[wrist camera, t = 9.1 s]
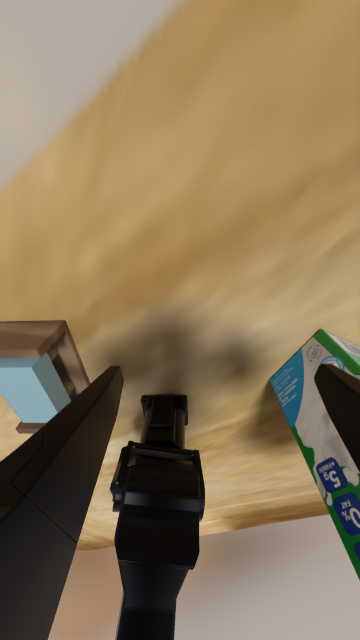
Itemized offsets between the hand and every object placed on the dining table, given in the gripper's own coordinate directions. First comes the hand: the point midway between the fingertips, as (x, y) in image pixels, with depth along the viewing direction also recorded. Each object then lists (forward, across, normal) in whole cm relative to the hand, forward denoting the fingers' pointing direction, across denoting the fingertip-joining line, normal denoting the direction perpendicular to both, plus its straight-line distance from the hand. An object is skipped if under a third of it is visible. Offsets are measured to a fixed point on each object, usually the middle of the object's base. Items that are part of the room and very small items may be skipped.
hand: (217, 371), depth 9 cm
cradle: (+12, +19, +11) cm, 25 cm away
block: (+9, +19, +11) cm, 24 cm away
